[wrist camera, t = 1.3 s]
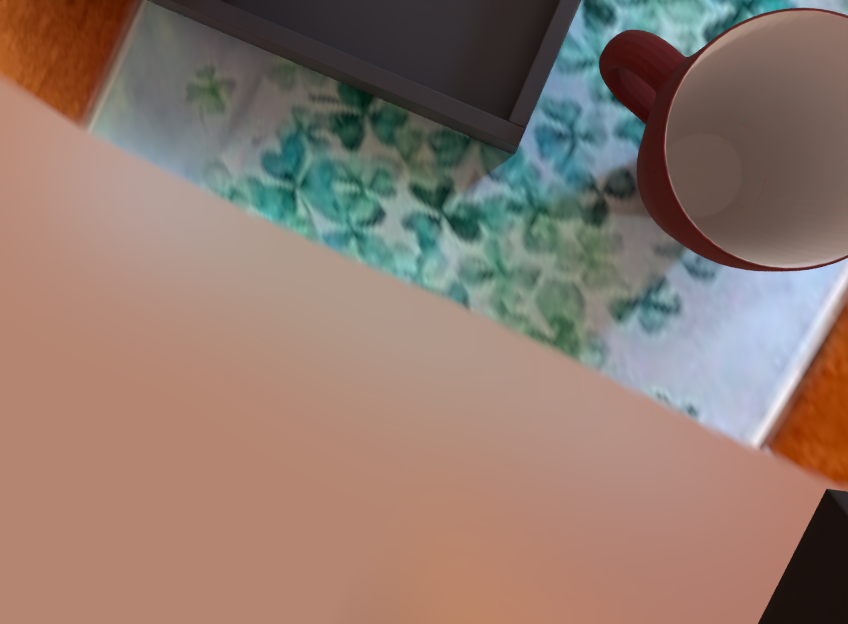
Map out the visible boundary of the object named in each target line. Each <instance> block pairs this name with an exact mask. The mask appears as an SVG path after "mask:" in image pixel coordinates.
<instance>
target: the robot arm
mask: <svg viewBox="0 0 848 624" xmlns="http://www.w3.org/2000/svg"><path fill="white" fill-rule="evenodd" d="M758 624H848V492H846V491H838V490H831V489H826V491H825V493H824V495H823V497H822V499H821V501H820V503H819V505H818V507H817V509H816V511H815V513H814V515H813V517H812V519H811V521H810V523H809V525H808V527H807V529H806V530H805V532H804V534H803V537H802V538H801V541H800V542H799V544H798V546H797V548H796V550H795V552H794V554H793V556H792V558H791V560H790V562H789V564H788V566H787V568H786V570H785V572H784V574H783V576H782V578H781V580H780V582H779V584H778V586H777V587H776V589H775V591H774V594H773V595H772V597H771V599H770V601H769V603H768V605H767V607H766V609H765V611H764V613H763V615H762V617H761V619H760V621H759V623H758Z"/></svg>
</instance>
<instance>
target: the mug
mask: <svg viewBox="0 0 848 624" xmlns="http://www.w3.org/2000/svg"><path fill="white" fill-rule="evenodd" d="M599 68H600V73H601V76H602V78H603V80H604V82H605V84H606V85H607V87H608V88H609V89H610V91H611V92H612V93H613V94H614V96H615V97H616V98H617V99H618V100H619V101H620V102H621V103H622V104H623V105H624V106H625V107H627V108H628V109H629V110H630V111H631V112H632V113H633V114H635V115H636V116H637V117H638V118H639V119H640V120H642V121H643V122H644V123H645V124H646V127H645V130H644V134H643V138H642V141H641V145H640V149H639V153H638V159H637V182H638V188H639V192H640V195H641V198H642V201H643V203H644V205H645V207H646V209H647V211H648V212H649V214H650V215H651V217H652V218H653V220H654V221H655V222H656V223H657V224H658V225H659V226H660V227H661V228H662V229H663V230H664V231H665V232H666V233H667V234H669V235H670V236H671V237H673V238H674V239H676V240H677V241H678V242H680V243H681V244H683V245H684V246H686V247H687V248H689V249H690V250H692V251H693V252H695V253H697V254H699V255H701V256H702V257H704V258H707V259H709V260H711V261H714V262H716V263H719V264H722V265H726V266H729V267H734V268H739V269H744V270H752V271H800V270H809V269H814V268H819V267H823V266H827V265H830V264H833V263H836V262H839V261H841V260H844V259H846V258H848V16H847V15H844V14H841V13H837V12H833V11H829V10H823V9H814V8H790V9H782V10H776V11H771V12H767V13H763V14H760V15H757V16H754V17H752V18H749V19H747V20H745V21H742V22H740V23H738V24H736V25H734V26H733V27H731V28H729V29H727V30H726V31H724V32H723V33H721V34H720V35H718V36H717V37H716V38H714V39H713V40H712V41H711V42H709V43H708V44H707V45H705V46H704V47H703V48H702V49H700V50H699V51H698V52H696V53H695V54H693V55H692V56H690V57H685V56H683V55H682V54H681V53H680V52H679V51H677V50H676V49H675V48H674V47H673V46H671V45H670V44H669V43H668V42H666V41H665V40H663V39H662V38H660V37H658V36H656V35H654V34H652V33H649V32H646V31H641V30H626V31H624V32H622V33H620V34H618V35H616V36H615V37H614V38H613V39H612V40H610V41H609V43H608V44H607V45H606V47H605V48H604V50H603V51H602V54H601V56H600V60H599Z"/></svg>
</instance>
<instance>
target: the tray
mask: <svg viewBox="0 0 848 624" xmlns="http://www.w3.org/2000/svg"><path fill="white" fill-rule="evenodd" d="M148 1H150V2H153V3H155V4H158V5H160V6H162V7H165V8H167V9H169V10H172V11H174V12H177V13H179V14H181V15H184V16H186V17H188V18H191V19H193V20H195V21H198V22H200V23H203V24H205V25H207V26H210V27H212V28H214V29H217V30H219V31H222V32H224V33H226V34H229V35H231V36H233V37H236V38H238V39H241V40H243V41H245V42H248V43H250V44H252V45H255V46H257V47H259V48H262V49H264V50H267V51H269V52H271V53H274V54H276V55H278V56H281V57H283V58H286V59H288V60H290V61H293V62H295V63H297V64H300V65H302V66H305V67H307V68H309V69H312V70H314V71H316V72H319V73H321V74H324V75H326V76H328V77H331V78H333V79H335V80H338V81H340V82H342V83H345V84H347V85H350V86H352V87H354V88H357V89H359V90H361V91H364V92H366V93H369V94H371V95H373V96H376V97H378V98H380V99H383V100H385V101H388V102H390V103H392V104H395V105H397V106H399V107H402V108H404V109H406V110H409V111H411V112H414V113H416V114H418V115H421V116H423V117H425V118H428V119H430V120H433V121H435V122H437V123H440V124H442V125H444V126H447V127H449V128H452V129H454V130H456V131H459V132H461V133H463V134H466V135H468V136H470V137H473V138H475V139H478V140H480V141H482V142H485V143H487V144H489V145H492V146H494V147H497V148H499V149H501V150H504V151H506V152H508V153H511V154H515V153H516V150H517V148H518V146H519V143H520V141H521V139H522V136H523V134H524V132H525V129H526V127H527V125H528V122H529V120H530V118H531V115H532V113H533V111H534V109H535V106H536V104H537V102H538V99H539V97H540V95H541V92H542V90H543V88H544V85H545V83H546V81H547V78H548V76H549V74H550V71H551V69H552V67H553V64H554V62H555V60H556V58H557V55H558V53H559V51H560V48H561V46H562V44H563V41H564V39H565V37H566V34H567V32H568V30H569V27H570V25H571V23H572V20H573V18H574V16H575V13H576V11H577V9H578V7H579V4H580V2H581V0H148Z"/></svg>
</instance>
